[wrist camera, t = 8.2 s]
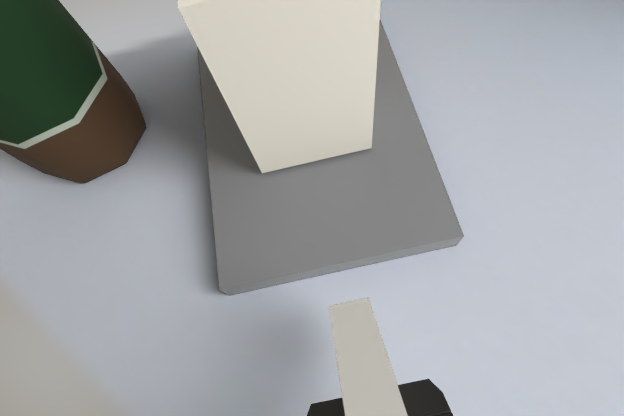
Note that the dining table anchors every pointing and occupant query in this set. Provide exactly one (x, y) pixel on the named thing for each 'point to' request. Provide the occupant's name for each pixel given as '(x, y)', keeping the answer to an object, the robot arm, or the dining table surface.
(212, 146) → the base
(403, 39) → the dining table surface
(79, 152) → the beer bottle
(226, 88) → the cream tall block
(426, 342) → the dining table surface
